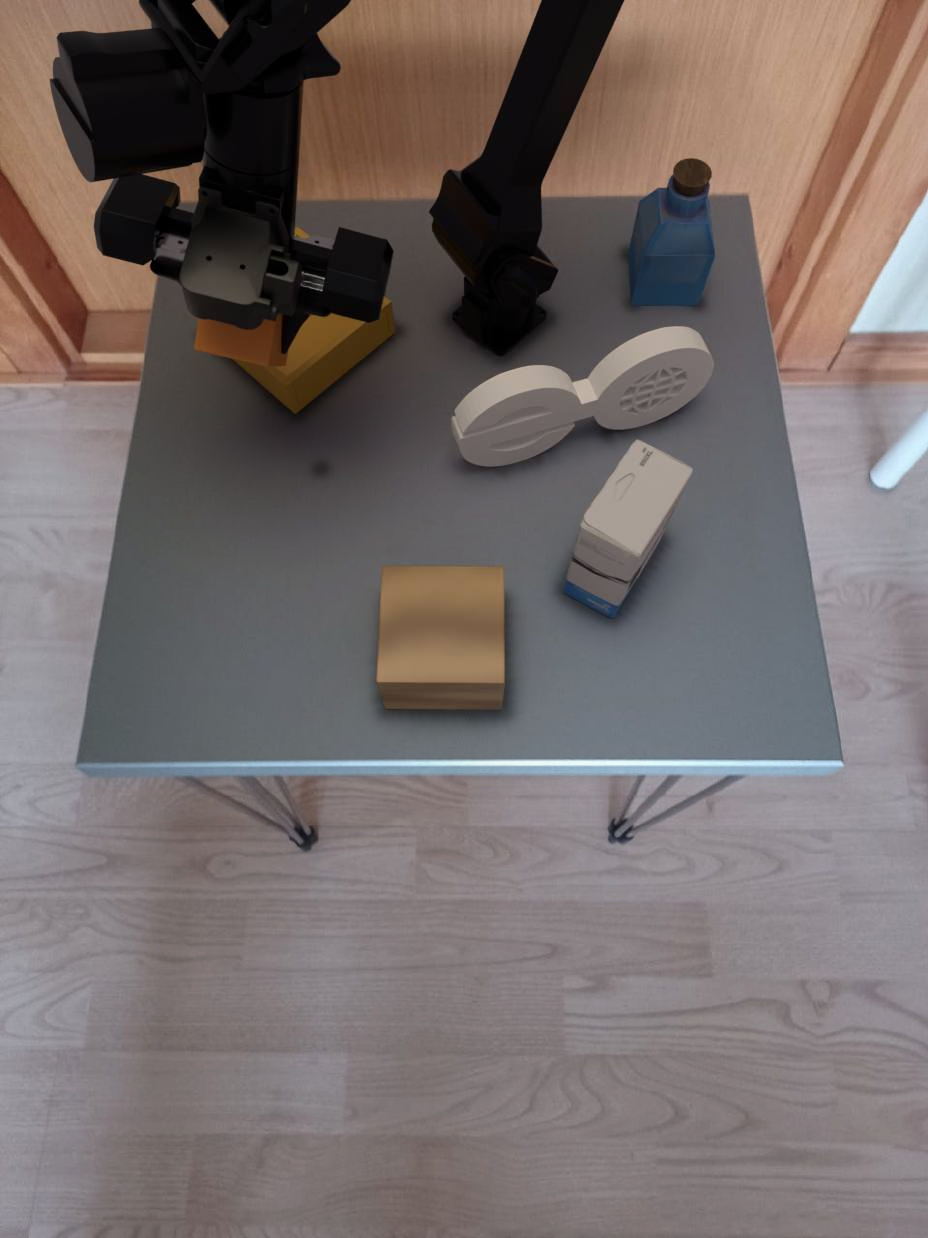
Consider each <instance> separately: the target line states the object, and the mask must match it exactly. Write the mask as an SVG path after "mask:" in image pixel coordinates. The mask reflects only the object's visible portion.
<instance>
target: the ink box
mask: <svg viewBox="0 0 928 1238" xmlns="http://www.w3.org/2000/svg"><path fill="white" fill-rule="evenodd" d="M693 472H694V468H692V467H691V466H689V465H688V464H686V463H684V462H683V461H681V460H679V459H678V458H675V457H673V456H672V455H670V454H668V453H666V452H664V451H662V450H660V449H658V448H656V447H655V446H652V445H651V444H648V443H646V442H644V441H643V440H640V439H638V438H636V439H635V441H633V443H632V444H631V445H630V446H629V448H628V450H627V451H626V453H625V454H624V455H623V457H622V458H621V459H620V460H619V462H618V464H617V465H616V467H615V469H614V471H612V473H611V474H610V476H609V477H608V478H607V480H606V481H605V483H604V485H603V487H602V488H601V490H600V491H599V493H598V494H597V495H596V496H595V497H594V499H593V500H592V502H591V504H590V505H589V507H588V508H587V509H586V510H585V512H584V513H583V518H582V520H581V521H580V524H579V528H578V531H577V532H578V533H577V535H576V536H577V537H576V540H575V544H574V548H573V552H572V556H571V559H570V564H569V566H568V570H567V574H566V578H565V581H564V584H563V587H562V592H563V593H564V594H565V595H566V596H568V597H570V598H572V599H574V600H576V601H577V602H579V603H581V604H583V605H585V606H587V607H589V608H590V609H592V610H594V611H596V612H598V613H600V614H602V615H604V616H606V617H607V618H610V619H614V618H615V616H616V615H617V613H618V611H619V610H620V608H621V607H622V605H623V603H624V602H625V600H626V599H627V596H628V595H629V593H630V591H631V590H632V588H633V587H634V585H635V583H636V582H637V580H638V579H639V578H640V575H641V574H642V572H643V570H644V568H645V567H646V566H647V564H648V562H649V560H650V558H651V557H652V555H653V554H654V552H655V550H656V549H657V547H658V545H659V543H660V542H661V539H662V537H663V535H664V533H665V531H666V529H667V527H668V525H669V523H670V520H671V518H672V516H673V515H674V514H673V513H674V512H675V509H676V507H677V505H678V503H679V500H680V498H681V496H682V494H683V492H684V490H685V488H686V486H687V484H688V482H689V479H690V478H691V476H692V474H693Z"/></svg>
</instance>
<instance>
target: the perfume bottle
mask: <svg viewBox="0 0 928 1238" xmlns="http://www.w3.org/2000/svg"><path fill="white" fill-rule="evenodd" d="M712 177H713V170H712V169H711V167H710V166H709V164H708V163H707V162H705V161H703V160H701V159H698V158H693V157H688V158H683V159H681V160H679V161H678V162H676V163H675V165H674V166H673V169H672V174H671V175H670V177H669V179H668V180H667V181H668V182H667V185H666V187H657V188H656V189H654V190H653V191H652V192H650V193H649V194H648V195H646V196H645V197H643V198H642V199H640V200H639V201H638V206H637V210H636V214H635V219H634V224H633V228H632V232H631V237H630V242H629V246H628V251H627V259H628V260H627V263H628V275H629V276H628V277H629V289H630V290H629V291H630V292H629V293H630V305H631V306H664V307H665V306H673V307H674V306H678V307H679V306H681V307H682V306H685V307H686V306H687V307H689V306H690V307H691V306H692V307H694V306H695V307H699V304H700V301H701V298H702V295H703V292H704V290H705V287H706V284H707V281H708V278H709V275H710V272H711V269H712V267H713V264H714V262H715V258H716V249H715V248H716V247H715V240H714V233H713V232H714V231H713V224H712V215H711V214H712V213H711V206H710V205H711V204H710V200H709V197H708V196H709V192H710V189H711V188H710V186H711V185H710V184H711V183H710V181H711V178H712Z"/></svg>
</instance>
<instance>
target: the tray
mask: <svg viewBox="0 0 928 1238" xmlns="http://www.w3.org/2000/svg"><path fill="white" fill-rule="evenodd" d="M294 236H297V237H301V238H308V237H309V236H310V235H309V234H307V232H305V231H304V230H302V229H301V228H300V227H299V226H295V235H294ZM392 303H393V302H392V300H391V299H390V298H388V297H387V296H384V300H383V304H382V308H381V313H380V317H379V320H376V321H374V322H371V323H367V322H363V321H359V320H355V319H351V318H348V317H344V316H340V315H336V314H332V313H331V314H330V315H329V316H327V317H320V316H315V315H311V316H310V317H309V318H308V319H307V320H306V321H305V322H304V324H303V325H302V326H301V328H300V330H299V331H298V333H297V335H296V337H295V338H294V340H293V342H292V344H291V346H290V347H289V350H288V356H287V362H286V366H274V367H266V366H261V365H257V364H253V363H249V362H244V361H240V360H236V359H232V360H233V361H234V362H235V363H236V364H237V365H238V366H239V367H241V368H242V369H243V370H244V371H245V372H246V373H247V374H248V375H250V376H251V377H252V378H253V379H255V380H256V381H257V382H258V383H259V384H260V385H261V386H262V387H263V388H265V389H266V390H267V391H268V392H269V393H270V394H271V395H272V396H274V397H275V398H276V399H277V400H278V401H279V402H281V403H282V405H284V406H285V407H286V408H288V410H290V411H291V412H292V413H293V414H295V415H296V414H298V413H299V412H300V411H301V410H302V409H304V407H306V406H308V404H309V403H311V402H312V401H313V400H314V399H316V398H317V397H318V396H319V395H321V394H322V393H323V392H324V391H326V390H327V389H328V388H329V387H330V386H332V385H333V384H334V383H335V382H337V381H338V380H339V379H340V378H342V376H344V375H345V374H346V373H348V372H349V371H350V370H351V369H353V368H354V367H355V366H356V365H357V364H359V363H360V362H361V361H362V360H364V359H365V358H366V357H367V356H368V355H369V354H371V353H372V352H373V351H375V350H376V349H377V348H378V347H379V346H381V345H382V344H383V343H384V342H385V341H387V340H388V339H389V338H390V337H391V336H393V335H395V333H396V329H395V327H396V326H395V319H394V310H393V304H392Z"/></svg>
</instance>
